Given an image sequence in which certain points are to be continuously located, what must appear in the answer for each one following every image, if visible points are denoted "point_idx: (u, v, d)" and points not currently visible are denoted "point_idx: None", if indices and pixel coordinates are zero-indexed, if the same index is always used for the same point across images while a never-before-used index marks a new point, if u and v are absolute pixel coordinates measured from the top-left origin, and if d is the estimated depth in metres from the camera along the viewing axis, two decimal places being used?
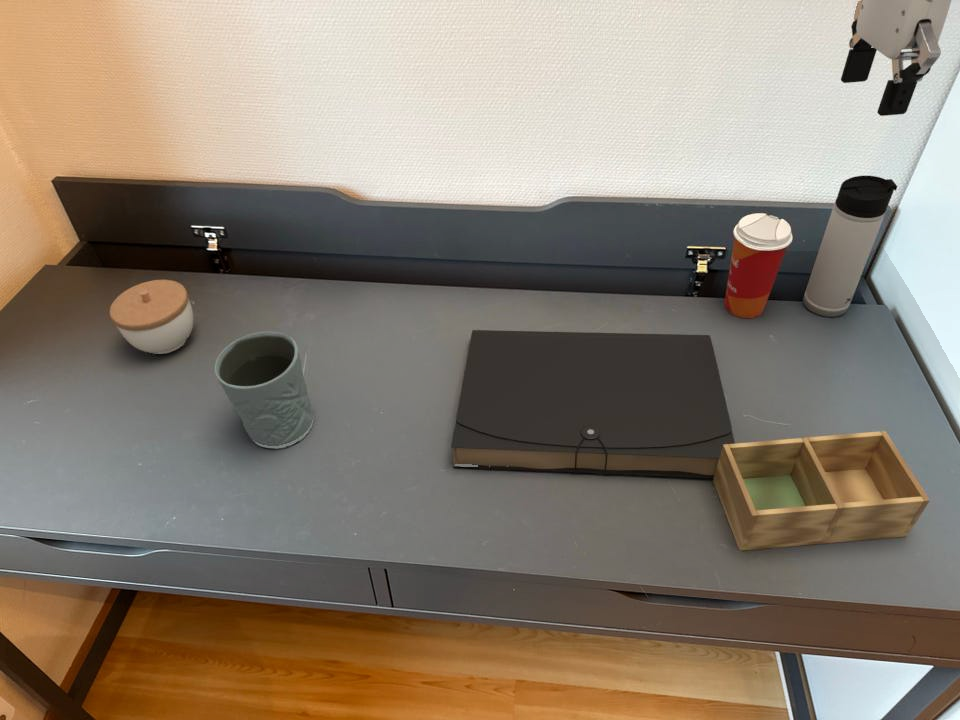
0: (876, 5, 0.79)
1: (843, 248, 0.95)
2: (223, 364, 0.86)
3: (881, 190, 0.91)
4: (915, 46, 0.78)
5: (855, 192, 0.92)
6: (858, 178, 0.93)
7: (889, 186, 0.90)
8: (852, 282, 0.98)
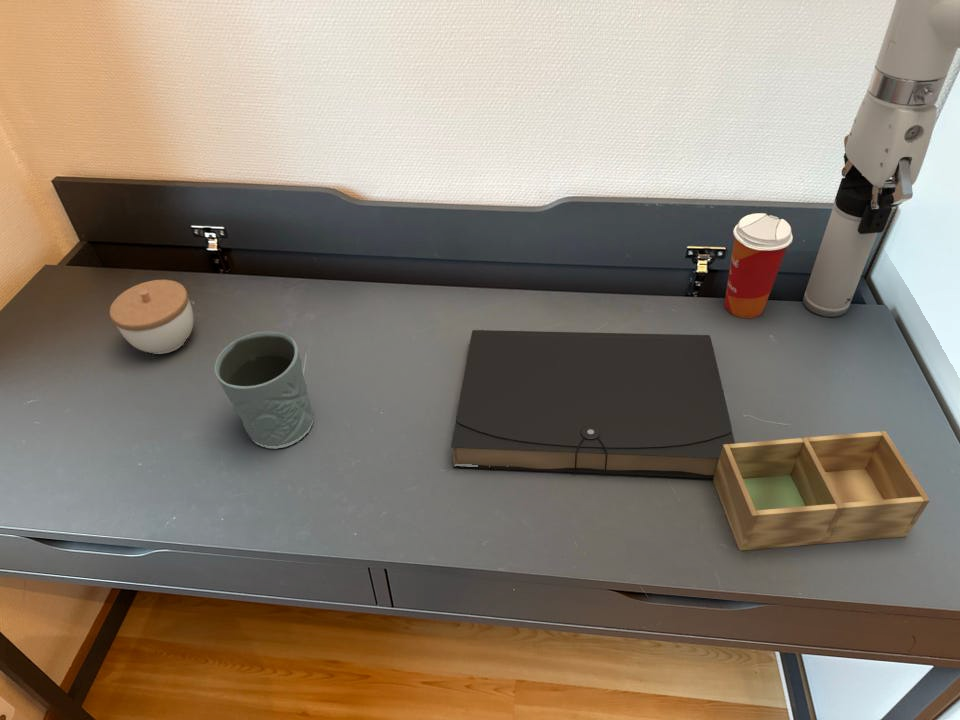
0: (863, 137, 0.87)
1: (843, 248, 0.95)
2: (223, 364, 0.86)
3: None
4: None
5: (855, 192, 0.92)
6: (858, 178, 0.93)
7: None
8: (852, 282, 0.98)
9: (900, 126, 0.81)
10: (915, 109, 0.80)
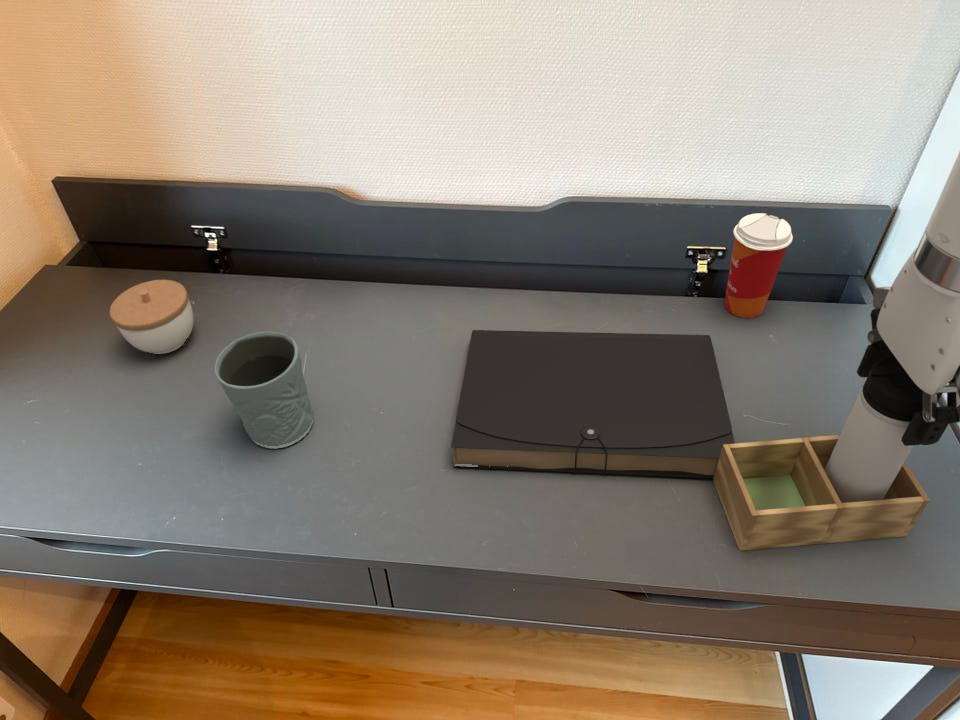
0: (904, 319, 0.61)
1: (873, 452, 0.69)
2: (223, 364, 0.86)
3: None
4: (954, 376, 0.61)
5: (891, 384, 0.66)
6: (894, 359, 0.68)
7: None
8: (884, 488, 0.72)
9: None
10: None
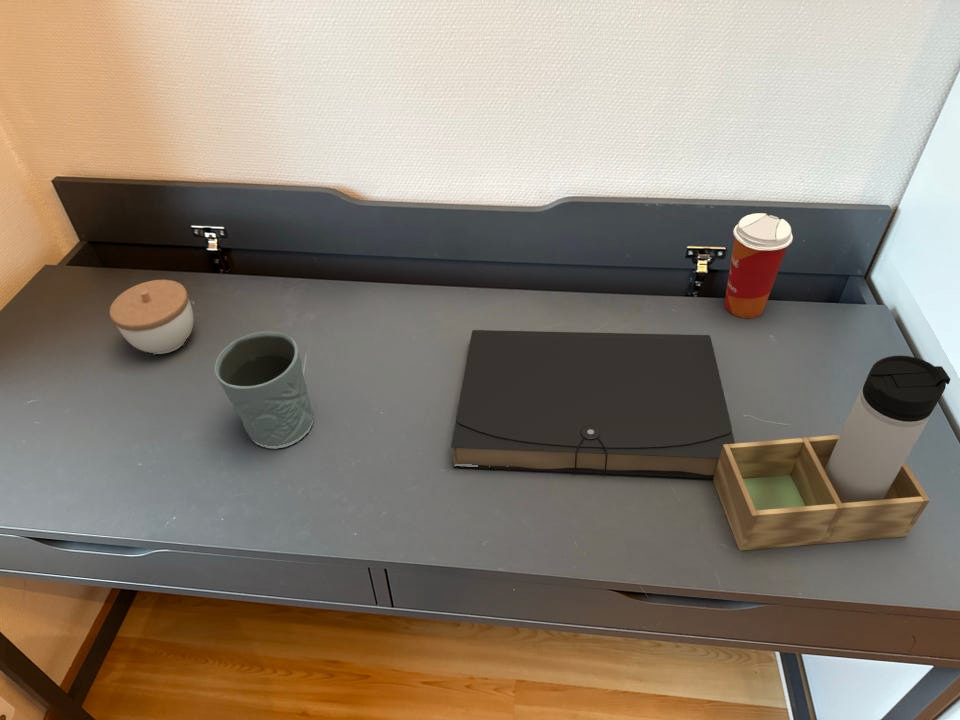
0: None
1: (873, 452, 0.69)
2: (223, 364, 0.86)
3: (927, 382, 0.65)
4: None
5: (891, 384, 0.66)
6: (894, 359, 0.68)
7: (939, 378, 0.65)
8: (884, 488, 0.72)
9: None
10: None
